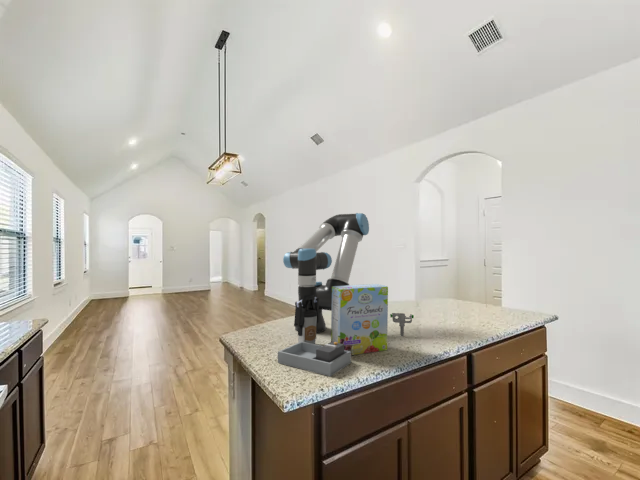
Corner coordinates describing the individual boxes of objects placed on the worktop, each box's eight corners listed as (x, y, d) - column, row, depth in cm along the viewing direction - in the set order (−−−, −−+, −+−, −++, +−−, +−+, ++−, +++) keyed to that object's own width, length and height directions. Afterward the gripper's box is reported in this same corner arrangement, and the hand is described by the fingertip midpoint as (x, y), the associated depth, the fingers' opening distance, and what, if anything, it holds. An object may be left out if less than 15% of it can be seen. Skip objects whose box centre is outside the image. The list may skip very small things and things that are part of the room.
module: (316, 367, 108) (316, 347, 108) (331, 358, 117) (331, 340, 117) (329, 370, 105) (329, 350, 106) (344, 361, 114) (344, 342, 114)
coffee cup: (302, 350, 128) (302, 312, 128) (294, 344, 135) (294, 308, 136) (321, 347, 132) (320, 310, 132) (312, 341, 139) (311, 307, 139)
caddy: (277, 362, 115) (277, 351, 115) (301, 351, 127) (301, 341, 127) (330, 376, 103) (330, 363, 103) (351, 362, 115) (350, 351, 115)
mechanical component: (413, 337, 145) (413, 315, 145) (390, 336, 147) (390, 314, 147) (413, 335, 148) (413, 313, 148) (390, 334, 150) (390, 312, 150)
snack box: (340, 358, 119) (339, 288, 119) (330, 351, 127) (329, 285, 127) (389, 350, 127) (388, 285, 128) (376, 344, 135) (376, 282, 136)
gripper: (299, 289, 123) (299, 349, 123) (327, 283, 140) (328, 336, 140) (284, 287, 127) (284, 345, 127) (313, 282, 145) (314, 333, 144)
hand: (307, 340), depth 134 cm, fingers open, 8 cm apart
